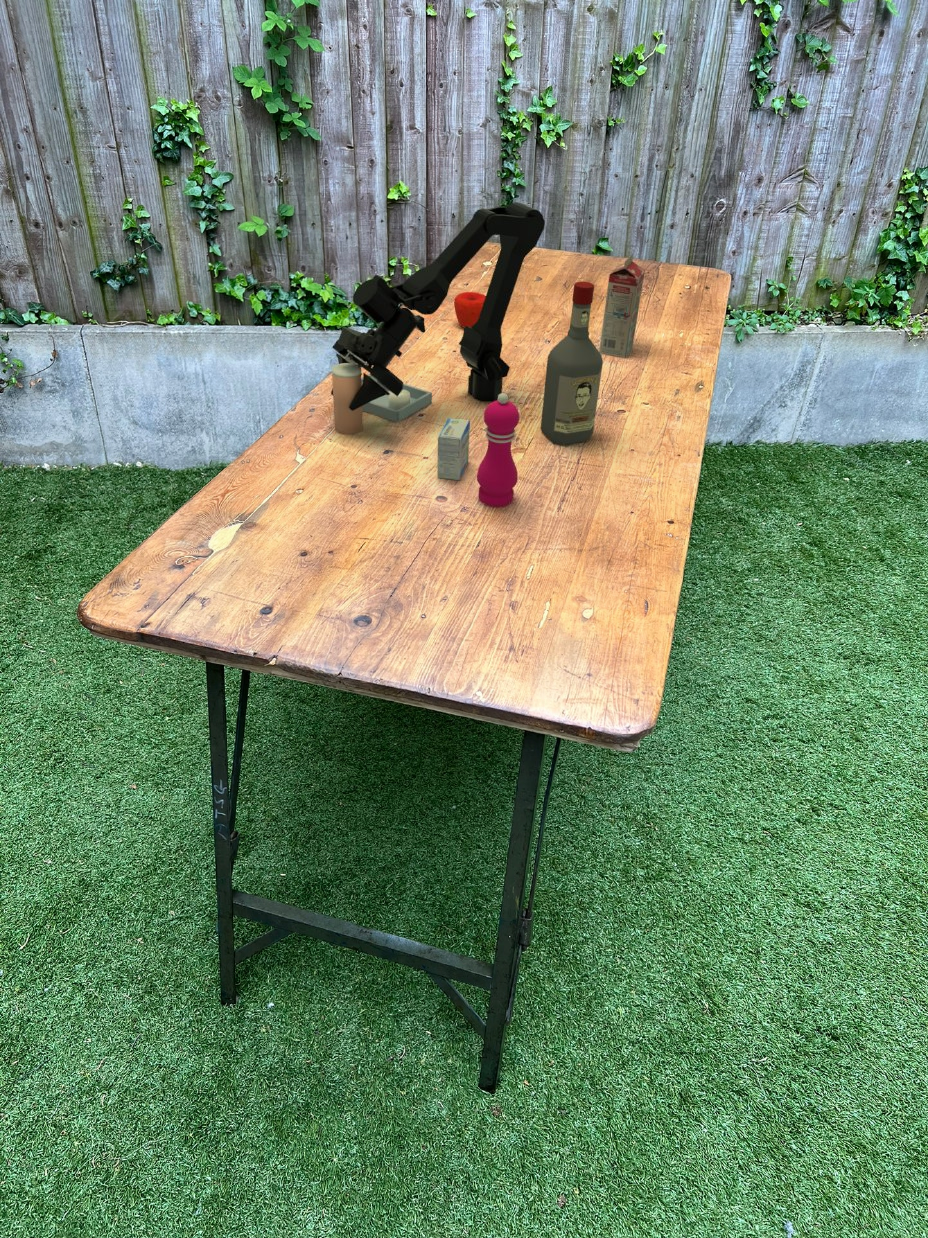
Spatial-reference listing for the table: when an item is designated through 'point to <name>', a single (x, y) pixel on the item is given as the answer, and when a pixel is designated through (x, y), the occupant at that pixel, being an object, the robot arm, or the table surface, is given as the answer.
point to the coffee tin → (346, 398)
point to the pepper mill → (498, 454)
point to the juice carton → (621, 309)
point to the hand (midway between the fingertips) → (341, 402)
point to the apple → (468, 308)
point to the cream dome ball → (399, 400)
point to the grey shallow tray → (417, 402)
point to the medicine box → (453, 449)
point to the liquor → (573, 378)
